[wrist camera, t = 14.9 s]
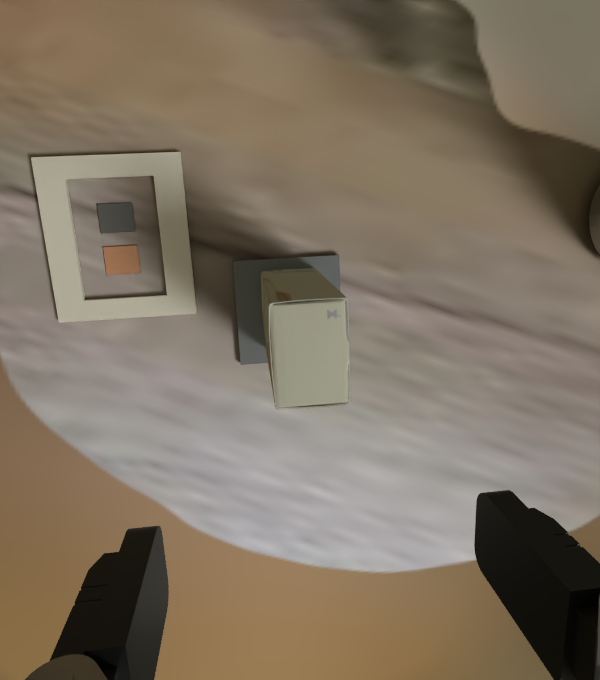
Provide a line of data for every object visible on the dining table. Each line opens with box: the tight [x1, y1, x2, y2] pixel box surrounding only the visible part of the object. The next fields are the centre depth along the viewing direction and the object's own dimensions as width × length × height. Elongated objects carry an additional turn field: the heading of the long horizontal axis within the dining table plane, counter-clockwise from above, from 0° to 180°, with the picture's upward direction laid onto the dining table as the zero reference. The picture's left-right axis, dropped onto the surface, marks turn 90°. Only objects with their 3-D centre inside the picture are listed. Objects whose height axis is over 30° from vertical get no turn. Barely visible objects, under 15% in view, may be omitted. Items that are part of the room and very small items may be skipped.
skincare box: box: [261, 268, 350, 409], centre depth 33 cm, size 6×4×12 cm
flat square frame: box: [31, 152, 197, 323], centre depth 36 cm, size 10×12×1 cm
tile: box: [232, 255, 340, 365], centre depth 39 cm, size 8×8×1 cm
